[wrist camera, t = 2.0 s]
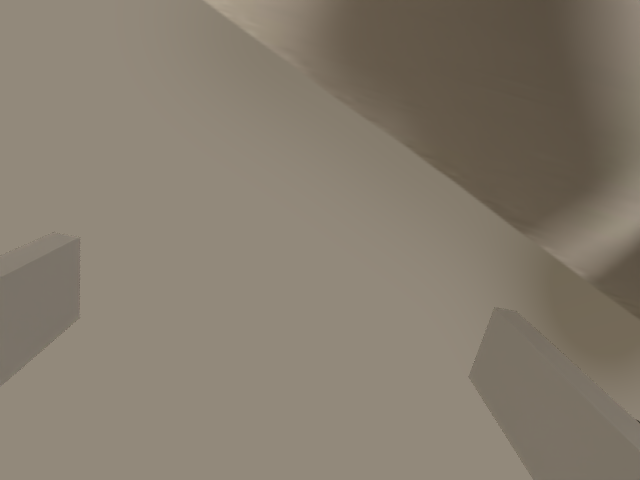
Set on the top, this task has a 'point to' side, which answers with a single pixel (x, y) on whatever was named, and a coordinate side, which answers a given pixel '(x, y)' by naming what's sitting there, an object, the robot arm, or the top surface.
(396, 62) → the top surface
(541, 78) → the top surface
